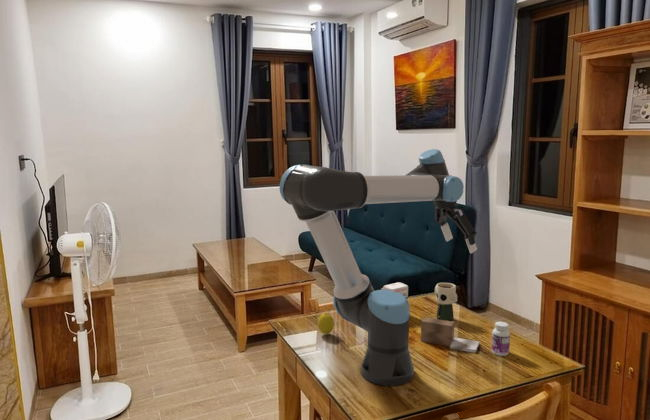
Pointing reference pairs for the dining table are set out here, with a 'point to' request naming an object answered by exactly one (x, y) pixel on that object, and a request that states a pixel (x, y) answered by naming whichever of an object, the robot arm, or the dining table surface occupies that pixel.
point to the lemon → (325, 323)
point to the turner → (445, 335)
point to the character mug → (445, 300)
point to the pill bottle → (501, 339)
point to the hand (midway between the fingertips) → (461, 245)
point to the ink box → (398, 288)
